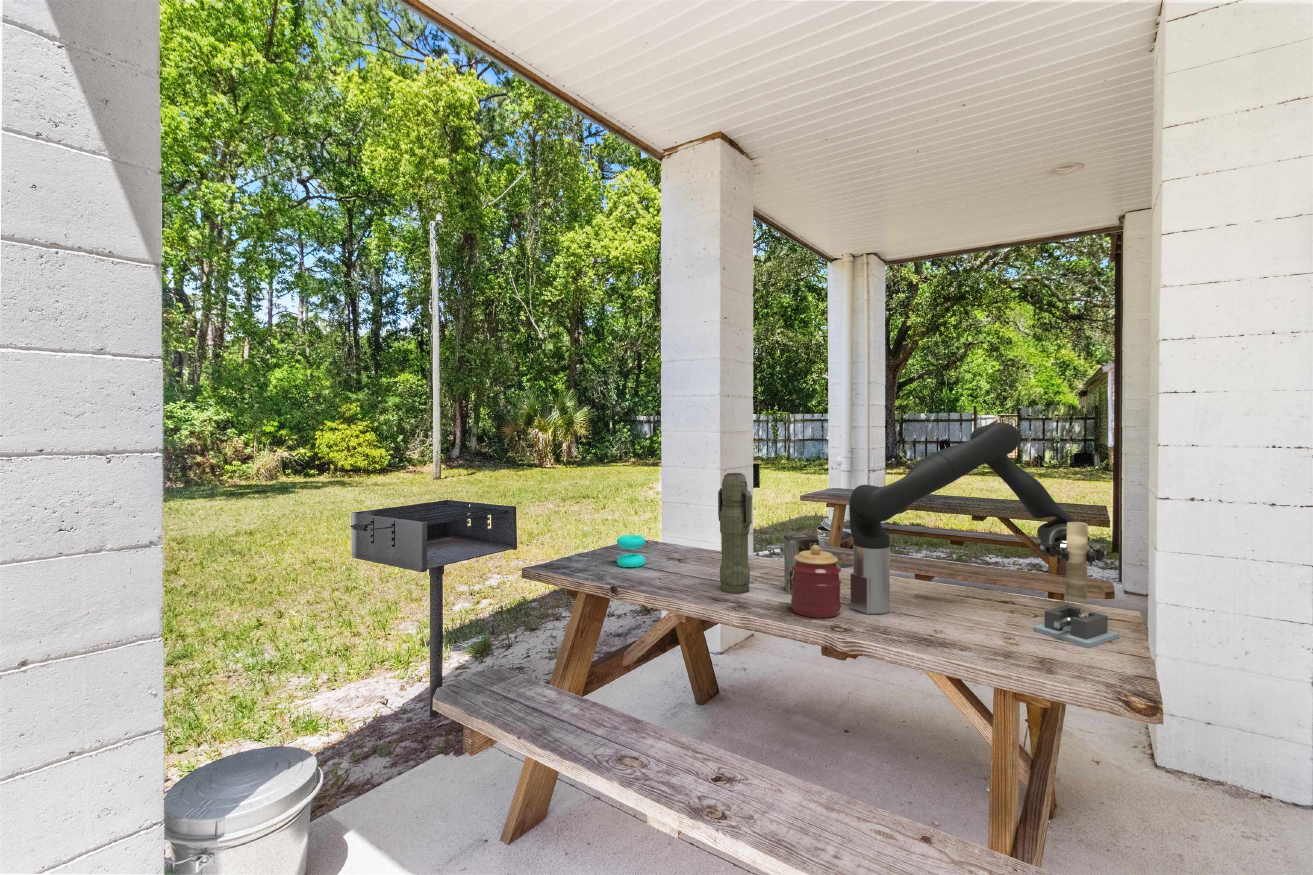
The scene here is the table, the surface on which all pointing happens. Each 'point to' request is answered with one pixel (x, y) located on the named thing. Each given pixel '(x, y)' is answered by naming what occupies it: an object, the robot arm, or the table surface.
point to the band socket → (1077, 627)
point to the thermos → (734, 533)
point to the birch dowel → (1077, 561)
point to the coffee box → (795, 553)
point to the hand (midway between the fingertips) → (1078, 557)
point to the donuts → (631, 558)
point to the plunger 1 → (1063, 622)
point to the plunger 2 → (1083, 615)
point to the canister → (816, 584)
